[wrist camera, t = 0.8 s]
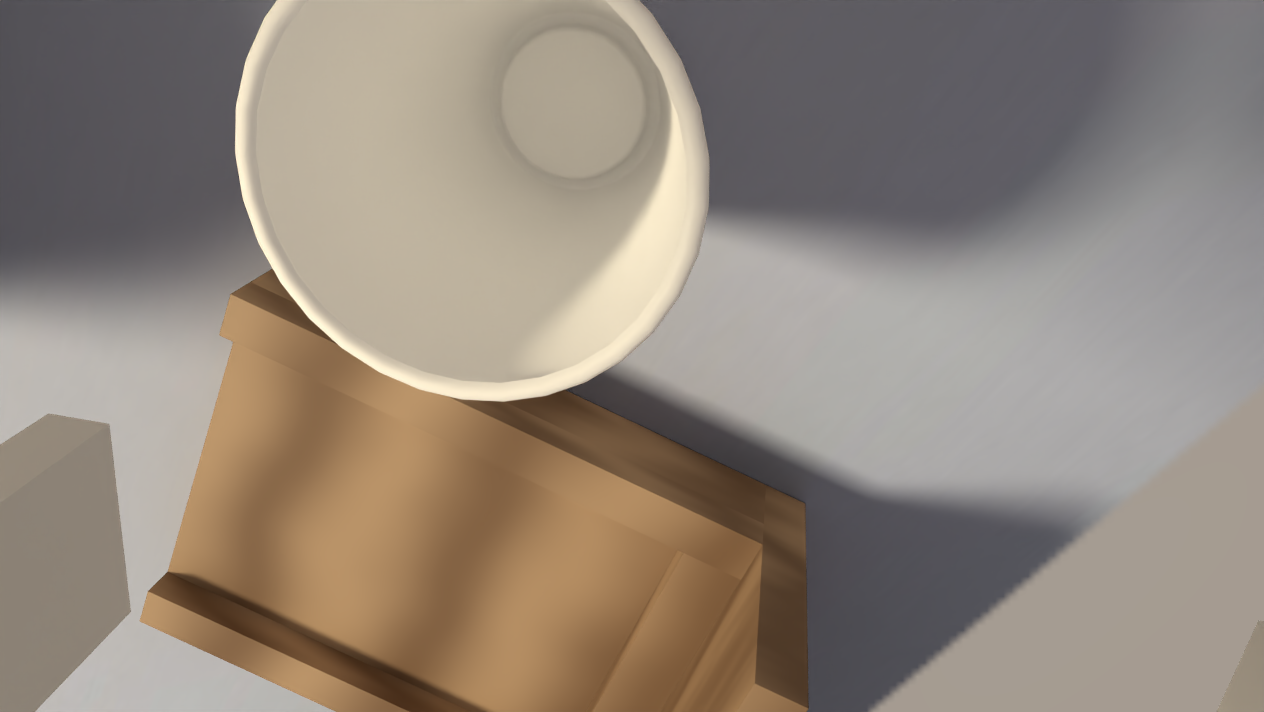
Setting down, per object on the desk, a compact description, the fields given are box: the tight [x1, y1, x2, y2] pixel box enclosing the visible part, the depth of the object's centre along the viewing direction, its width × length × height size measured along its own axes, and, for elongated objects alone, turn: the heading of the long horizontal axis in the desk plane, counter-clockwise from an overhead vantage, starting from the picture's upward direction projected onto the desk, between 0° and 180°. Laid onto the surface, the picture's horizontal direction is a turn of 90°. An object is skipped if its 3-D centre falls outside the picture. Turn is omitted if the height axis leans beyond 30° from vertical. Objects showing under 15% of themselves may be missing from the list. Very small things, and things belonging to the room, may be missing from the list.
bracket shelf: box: [140, 269, 809, 712], centre depth 32 cm, size 20×14×10 cm
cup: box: [235, 0, 710, 402], centre depth 25 cm, size 10×10×11 cm
